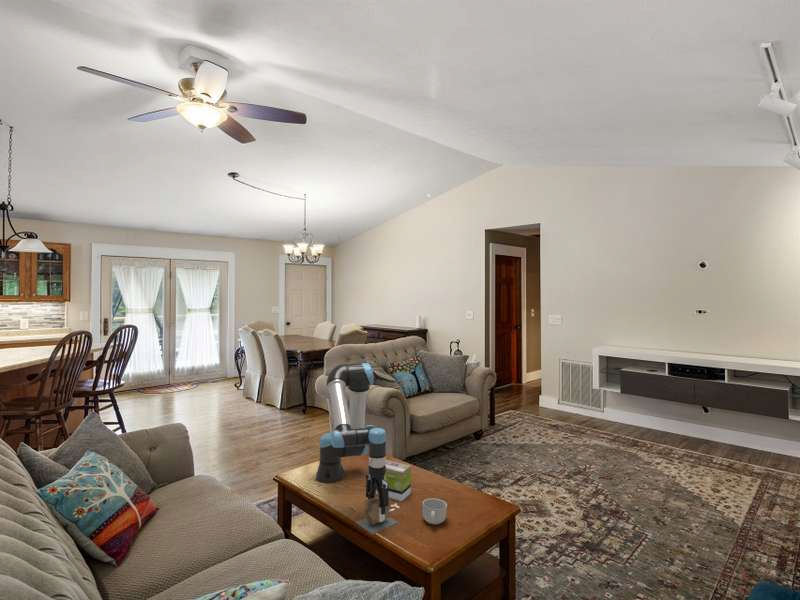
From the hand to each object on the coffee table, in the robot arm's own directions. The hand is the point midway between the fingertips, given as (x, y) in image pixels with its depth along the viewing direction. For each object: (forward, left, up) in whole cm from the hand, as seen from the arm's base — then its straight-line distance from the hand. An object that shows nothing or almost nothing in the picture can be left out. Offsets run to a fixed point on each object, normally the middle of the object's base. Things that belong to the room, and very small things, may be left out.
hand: (376, 517), depth 190 cm
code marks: (-6, +14, -2) cm, 15 cm away
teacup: (+16, +19, -3) cm, 25 cm away
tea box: (-16, +23, -3) cm, 28 cm away
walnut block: (0, 0, 0) cm, 0 cm away
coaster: (0, 0, -2) cm, 2 cm away
